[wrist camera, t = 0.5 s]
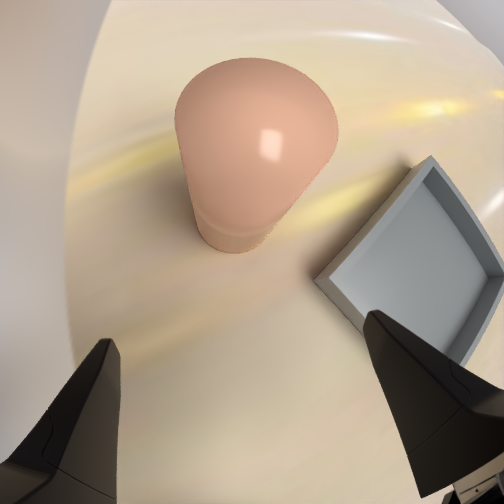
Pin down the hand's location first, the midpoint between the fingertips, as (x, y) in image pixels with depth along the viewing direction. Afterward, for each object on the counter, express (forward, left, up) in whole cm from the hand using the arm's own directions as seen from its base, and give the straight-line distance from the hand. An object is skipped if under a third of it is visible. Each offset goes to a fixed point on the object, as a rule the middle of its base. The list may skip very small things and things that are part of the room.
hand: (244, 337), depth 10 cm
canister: (+5, -6, -13) cm, 15 cm away
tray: (-11, -15, -13) cm, 22 cm away
